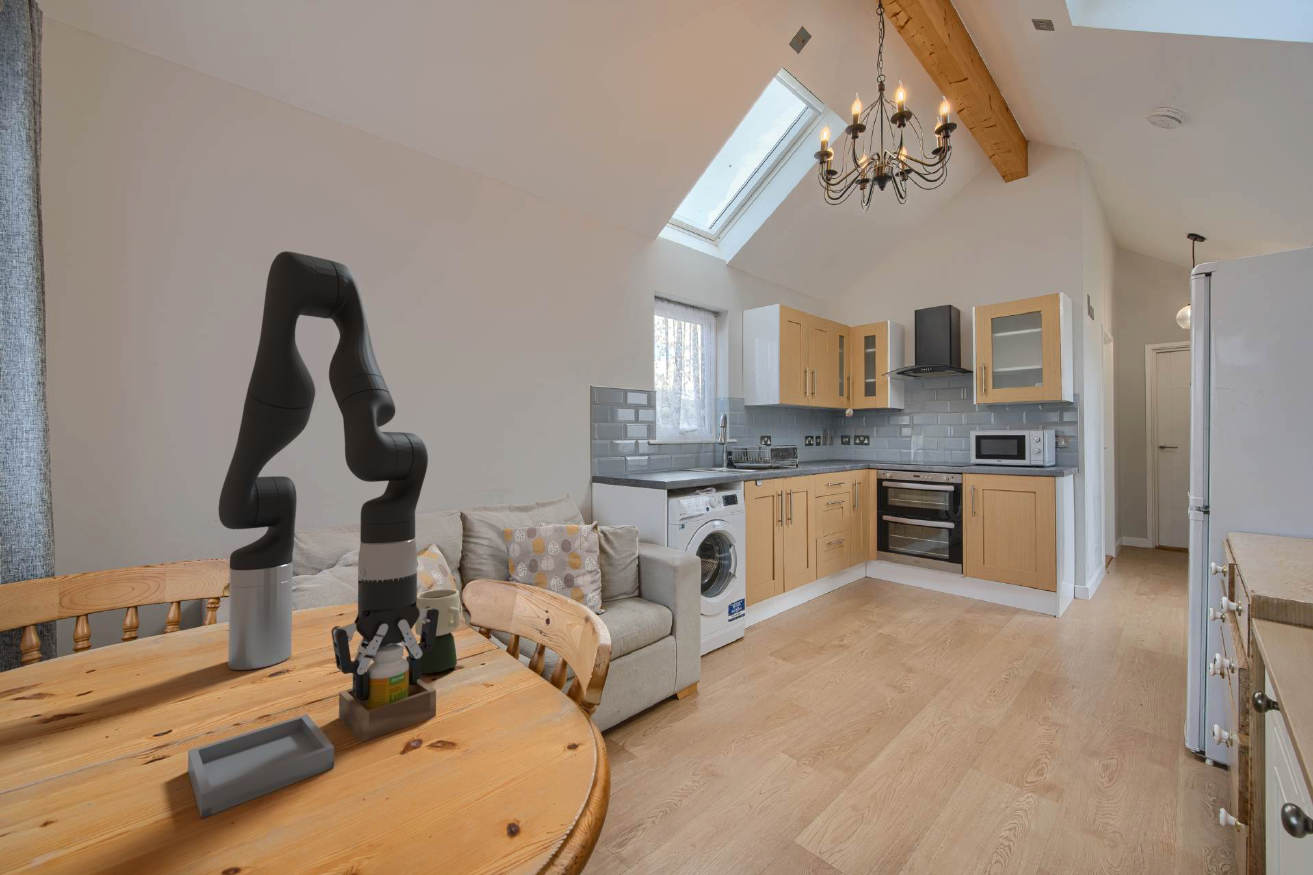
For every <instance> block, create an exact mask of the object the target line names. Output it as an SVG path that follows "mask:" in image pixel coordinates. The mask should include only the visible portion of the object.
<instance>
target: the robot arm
mask: <svg viewBox="0 0 1313 875" xmlns="http://www.w3.org/2000/svg"><path fill="white" fill-rule="evenodd" d="M270 265H271V266H270V268H269V272H268V276H267V280H266V288H265V295H264V303H263V311H262V312H263V313H262V323H261V329H260V336H259V342H258V346H257V350H256V351H257V352H256V355H255V361H254V364H253V368H252V372H251V375H250V379H249V383H248V387H247V390H246V396H245V400H244V403H243V404H244V405H243V408H242V409H243V410H242V416H241V420H240V427H239V432H238V436H237V440H236V441H237V442H236V445H235V448H234V453H233V455H232V458H231V461H230V463H229V467H228V470H227V473H226V476H225V478H224V481H223V484H222V486H221V487H222V489H221V490H220V495H219V500H218V516H219V517H218V518H219V521H220V523H221V524H222V526H224V527H225V528H227V529H229V530H248V529H249V530H250V529H259V528H267V530H266V532H265V533H264V535H263V536H261V537H259V538H258V539H257V540H254V541H253V542H251V543H249V544H247V545H243V546H241V547H240V548H237V549H235V550H234V551H233V552H231V553H230V557H229V593H228V594H229V599H228V601H229V602H228V604H229V605H228V606H229V607H228V610H229V612H228V616H229V617H228V653H227V654H228V655H227V656H228V658H227V659H228V660H227V661H228V662H227V667H228V668H229V669H231V670H235V671H236V670H237V671H246V670H247V671H248V670H255V669H260V668H261V669H262V668H265V667H269V666H270V667H271V666H273V665H277V664H279V663H281V662H284V661H286V660H288V659H289V658H290V657H291V656H292V642H293V641H292V639H293V638H292V636H293V635H292V634H293V560H294V559H293V558H294V557H293V554H294V548H295V547H294V546H295V528H296V515H297V513H296V512H297V503H298V502H297V488H296V484H295V482H294V481H293V480H292V479H291V478H290V477H288V476H283V475H280V476H278V475H277V476H275V475H274V476H259V475H260V473H261V471H262V470H263V468H264V467H265V466H266V465H267V464H268V463H269V462H270V461H271V460H272V459H273V458H275V456H276V455H277V454H279V453H280V452H281V451H282V450H284V449H285V448H286V447H287V446H288V445H290V444H291V443H292V442H293V441H295V439H296V438H297V437H298V436H299V435H300V434H301V433H302V432H303V431H304V430H305V429H306V427H307V425H308V423H309V420H310V417H311V414H312V413H311V412H312V409H313V405H314V401H315V397H316V386H315V382H314V380H313V377H312V374H311V372H310V371H309V369H308V367H307V365H306V363H305V361H304V359H303V358H302V356H301V353H300V352H299V348H298V345H297V342H296V328H297V322H298V319H299V317H300V316H306V317H313V318H318V319H319V318H321V319H327V320H328V319H330V320H332V321H333V322H334V324H335V326H336V327H337V330H338V332H339V339H338V344H337V346H336V349H335V351H334V352H333V355H332V358H331V361H330V364H329V370H328V380H329V384H330V388H331V391H332V393H333V395H334V399H335V401H336V404H337V406H338V408H339V410H340V413H341V415H342V422H343V433H344V455H345V456H344V458H345V462H346V465H347V468H348V469H349V471H350V472H351V473H352V474H353V476H355V477H356V478H357V479H359V480H361V481H363V482H368V483H369V482H370V483H371V482H372V483H375V482H387V486H386V487H385V490H384V492H383V493H382V494H381V495H380V496H378V497H375V498H371V499H370V500H367V501H366V502H364V503H363V504H362V506H361V510H360V529H359V530H360V531H359V533H360V536H359V537H360V542H359V544H360V546H359V551H358V559H357V560H358V561H357V573H358V574H357V615H356V618H355V620H354V622H352V623H349V624H347V625H344V626H340V625H339V626H338V625H335V626H334V627H332V629H331V638H332V645H333V651H334V656H335V657H334V658H335V665H336V668H337V669H338V670H340V671H341V673H343V674H344V675H348V674H352V688H353V694H354V695H355V696H356V697H357V698H358V699H359V700H361V701H365V700H368V673H367V668H368V667H369V665H370V664H371V662H372V658H373V657H374V656H375V654H376V652H377V650H378V648H381V647H385V646H387V645H389V644H397V643H401V644H403V648H404V649H405V651H406V652H407V654H408V656H406V657H405V659H406V660H407V661H408V663H409V685H411V686H412V685H415V684H417V680H418V679H420V680H421V676H422V673H421V657H422V655H423V654H424V653H425V652H427V651H431V650H433V648H434V646H435V639H436V631H437V624H438V616H439V611H438V610H437V609H435V608H432V607H430V606H428V607H426V608H425V609H418V607H417V604H416V602H417V594H418V566H419V562H418V551H417V549H418V548H417V546H416V545H417V544H416V543H417V542H416V511H417V510H416V509H417V506H418V502H419V499H420V495H421V492H422V487H423V484H424V481H425V477H426V475H427V470H428V463H429V455H428V454H429V453H428V451H427V450H428V449H427V447H426V444H425V442H424V441H423V439H421V438H420V437H419V436H418V435H417V434H415V433H412V432H403V431H402V432H400V431H399V432H396V431H395V432H393V431H381V430H380V428H381V427H382V426H385V425H386V424H388V423H390V422H391V420H393V418H394V417H395V414H396V406H395V402H394V400H393V397H392V395H391V393H390V390H389V388H388V386H387V383H386V382H385V379H384V377H383V374H382V372H381V370H380V367H379V365H378V361H377V359H376V355H375V353H374V349H373V348H374V347H373V344H372V340H371V335H370V330H369V325H368V323H367V322H368V321H367V317H366V313H365V308H364V304H363V299H362V296H361V292H360V289H359V286H358V283H357V280H356V277H355V276H354V274H353V271H351V270H350V268H348V267H347V266H346V265H345V264H343V263H341V262H337V261H334V260H330V259H327V258H326V259H325V258H321V257H317V256H313V255H308V254H303V253H299V252H294V251H281V252H280V253H278V254H277V255H276V256H275V258H273V261H272V263H271V264H270ZM419 617H420V621H421V622H422V630H421V636H419V637H420V639H419V642H418V640H417V638H416V637H415V634H414V633H413V631H412V629H413V628H414V626H415V623H416V621H417V619H418V618H419ZM356 632H358V633H357V634H359V635H360V636H361V637H362V638H361V640H360V643H359V645H358V646H357V653H356V654H355V657H354V659H353V660H352V658H351V650H350V644H349V643H350V642H351V641H352V640H353V639H354V634H355V633H356Z"/></svg>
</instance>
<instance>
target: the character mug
mask: <svg viewBox="0 0 1313 875" xmlns="http://www.w3.org/2000/svg"><path fill="white" fill-rule="evenodd" d="M416 604H417V607H418V609H425V608H426V607H428V606H430V607H432V608H435V609H437V610H438V611H439V616H438V624H437V631H436V639H435V646H434V648H433V650H431V651H427V652H425V653H424V654H423V655H422V657H421V674H433V673H438V672H441V671H446V670H449V669H452V668H455V667H456V666H457V664H458V660H457V651H456V650H457V649H456V644H455V637H454V635H453V633H452V632H454V631H456V630H457V629H458V628H459V626H460V625H461V624H460V621H461V620H460V617H461V616H460V615H461V614H460V606H461V604H460V590H458V589H453V588H440V589H439V588H438V589H431V590H426V591H422V592H418V593H417V602H416ZM414 626H415V627H414V628H415V629H414V631H415V634H416V635H417V636H419V637H421V630H422V622H421V621H420V617H419V618H418V619H417V621H416V623H415V624H414Z"/></svg>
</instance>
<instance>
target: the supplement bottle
mask: <svg viewBox="0 0 1313 875" xmlns="http://www.w3.org/2000/svg"><path fill="white" fill-rule="evenodd" d="M403 656H404V646H403V644H402V643H397V644H389V645H387V646H385V647H381V648H378V650H377V652H376V654H375V656H374V657H373V658H372V659H371V661H372V663H369V666H368V668H367V670H366V672H367V673H368V700H366V710H370V709H373V708H376V707H379V706H382V705H385V704H388V703H391V702H394V701H397V700H400V699H403V698H407V697H409V663H408V661H407V660H406V657H405V658H404V657H403Z"/></svg>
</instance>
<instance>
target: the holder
mask: <svg viewBox="0 0 1313 875" xmlns="http://www.w3.org/2000/svg"><path fill="white" fill-rule="evenodd" d="M338 695H339V696H338V718H339V719H340V720H341V722H343V724H345V726H346V727H348V729H349V730H350V731H351V732H352V734H354V736H356V737H357V739H358V740H359V741H360V742H361V743H364V742H366V741H369V740H373V739H375V738H379V737H380V736H383V735H386V734H389V733H391V732H394V731H396V730H401V729H403V728H405V727H408V726H411V725H414V724H416V723H419V722H421V721H425V720H427V719H430V718H432V717H433V718H434V717H435V716H437V689H435V688H434V687H432V686H430V685H429V684H428V683H426V682H424V681H423V680H422V679H421V678H420V679H418V680H417V684H415V685H412V686H411V685H409V697H407V698H403V699H400V700H397V701H394V702H391V703H388V704H385V705H382V706H379V707H376V708H373V709H370V710H366V700H365V701H361V700H359V699H358V698H357V697H356V696H355V695H354V694H353V687H352V688H350V689H346V690H342V691H339V692H338Z"/></svg>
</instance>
